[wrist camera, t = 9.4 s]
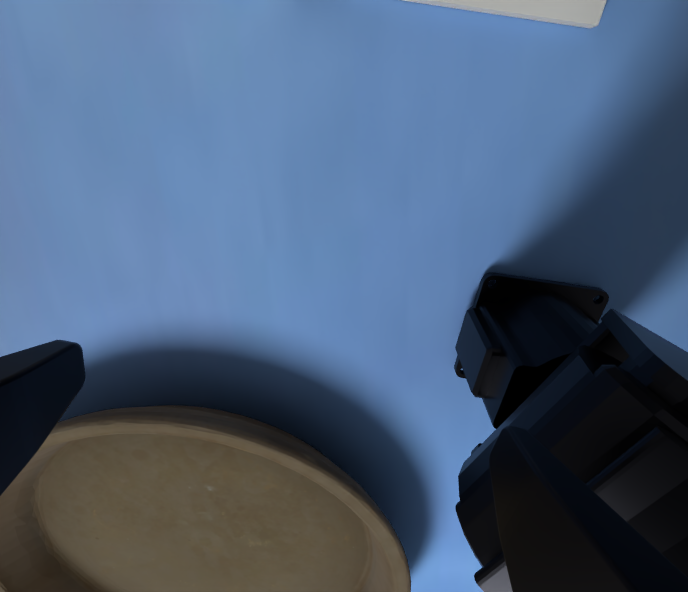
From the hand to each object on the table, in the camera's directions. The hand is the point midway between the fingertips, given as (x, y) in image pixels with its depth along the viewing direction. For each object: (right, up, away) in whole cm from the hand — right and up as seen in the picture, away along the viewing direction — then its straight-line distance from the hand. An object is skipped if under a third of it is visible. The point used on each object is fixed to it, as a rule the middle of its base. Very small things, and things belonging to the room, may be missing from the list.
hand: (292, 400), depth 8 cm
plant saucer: (-10, -17, +23) cm, 30 cm away
